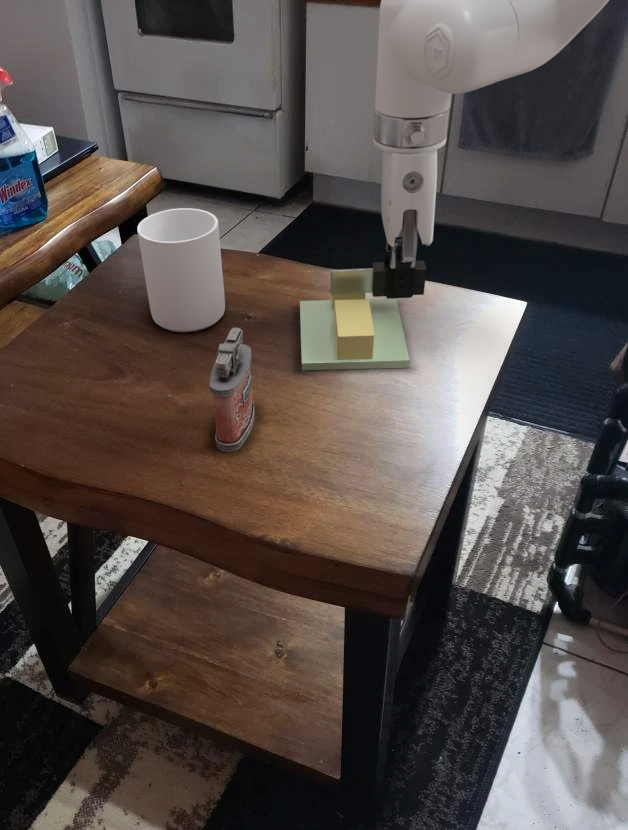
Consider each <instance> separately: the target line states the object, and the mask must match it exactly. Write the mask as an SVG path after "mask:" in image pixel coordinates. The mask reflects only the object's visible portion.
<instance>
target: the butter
mask: <svg viewBox="0 0 628 830" xmlns="http://www.w3.org/2000/svg"><path fill="white" fill-rule="evenodd" d="M369 299H370V298H365V299H359V300H335V301H334V330H335V341H336V352H337V359H369V358H373V350H374V336H375V335H374V329H373V323H372V317H371V311H370V305H369Z"/></svg>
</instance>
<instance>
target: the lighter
mask: <svg viewBox="0 0 628 830" xmlns="http://www.w3.org/2000/svg"><path fill="white" fill-rule="evenodd" d="M243 337H244V336H243V330H242V329H241V327H232V328H231V329H230V330H229V332H228V335H227V337H226V339H225V341H224V343H219V345H218V349H217V358H216V360H215V362H214V363H213V365H212V369H211V372H210V376H209V383H208V384H209V391H210V393H211V394H212V400H213V401H212V402H213V411H214V419H215V445H216V447H217V449H218V450H220V451H223V452H234V451H237V450H239V449H240V448H241V447H242V446H243V444H244V443H245V442H246V440H247V439H248V437H249V435H250V433H251V431H252V430H253V425H254V421H255V411H256V410H255V409H256V407H255V401H254V400H253V391H252V387H253V384H252V374H251V365H252V349H251V347H250V346H249V345H247V344H243V341H244V338H243Z"/></svg>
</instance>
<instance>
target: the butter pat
mask: <svg viewBox="0 0 628 830" xmlns="http://www.w3.org/2000/svg"><path fill="white" fill-rule="evenodd" d="M330 298H331V299H330V300H332V308H334V301H335V300H359V299H366V293H355V294H331V297H330Z"/></svg>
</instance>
